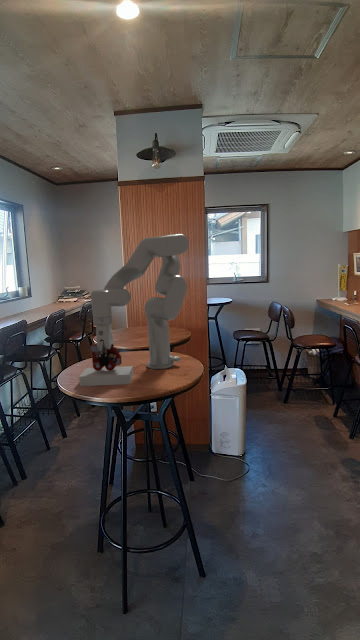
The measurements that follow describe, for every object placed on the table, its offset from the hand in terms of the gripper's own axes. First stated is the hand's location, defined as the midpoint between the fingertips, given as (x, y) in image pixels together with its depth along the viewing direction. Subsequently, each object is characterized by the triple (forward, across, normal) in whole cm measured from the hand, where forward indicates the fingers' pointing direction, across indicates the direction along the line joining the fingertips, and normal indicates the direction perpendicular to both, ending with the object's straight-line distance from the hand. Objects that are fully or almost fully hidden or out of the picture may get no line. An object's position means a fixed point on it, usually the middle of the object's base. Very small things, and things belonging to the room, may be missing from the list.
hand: (106, 362), depth 152 cm
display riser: (+8, 0, 0) cm, 8 cm away
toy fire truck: (+3, 0, 0) cm, 3 cm away
